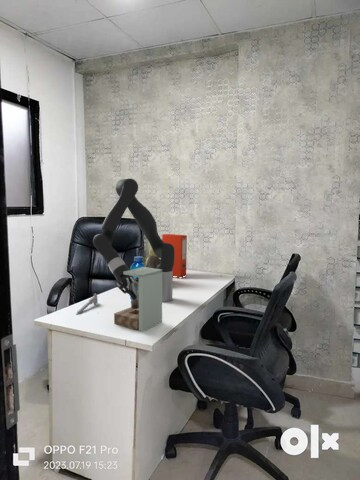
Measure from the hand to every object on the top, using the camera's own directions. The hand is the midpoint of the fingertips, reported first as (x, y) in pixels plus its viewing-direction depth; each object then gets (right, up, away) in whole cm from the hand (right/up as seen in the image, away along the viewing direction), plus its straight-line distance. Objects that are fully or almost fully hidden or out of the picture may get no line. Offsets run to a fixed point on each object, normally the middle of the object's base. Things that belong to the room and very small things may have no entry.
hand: (138, 297), depth 156 cm
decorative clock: (0, -4, +80) cm, 80 cm away
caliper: (-30, -10, +23) cm, 39 cm away
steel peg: (-2, -5, +2) cm, 5 cm away
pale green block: (+2, -12, 0) cm, 12 cm away
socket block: (-1, -12, +2) cm, 12 cm away
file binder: (+15, -1, +104) cm, 105 cm away
